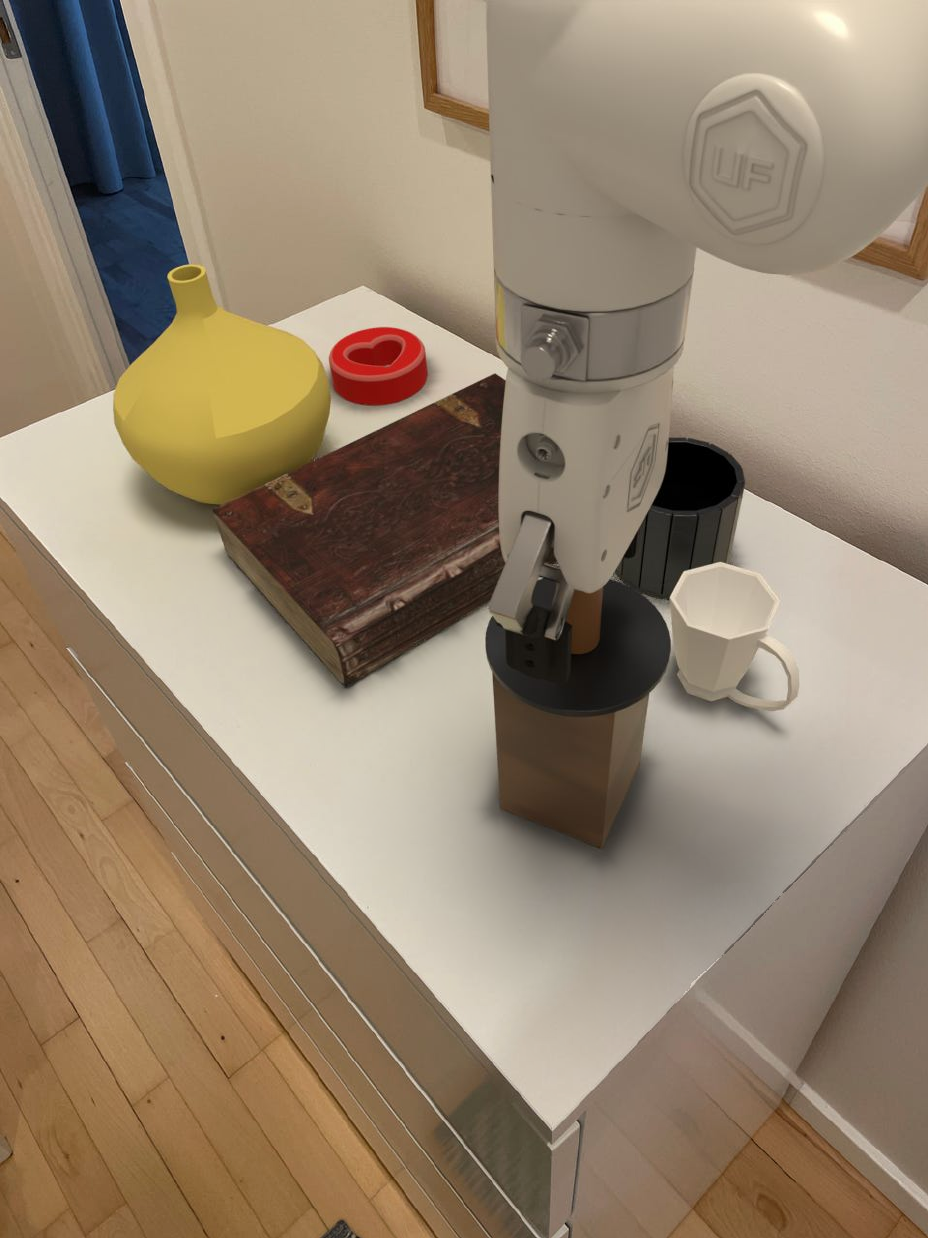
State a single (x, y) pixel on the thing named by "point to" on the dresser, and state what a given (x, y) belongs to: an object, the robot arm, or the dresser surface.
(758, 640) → the cup
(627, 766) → the stand
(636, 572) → the dark grey slatted bucket
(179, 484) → the vase
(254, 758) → the dresser surface
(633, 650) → the lid
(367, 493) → the book
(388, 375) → the decorative ornament
